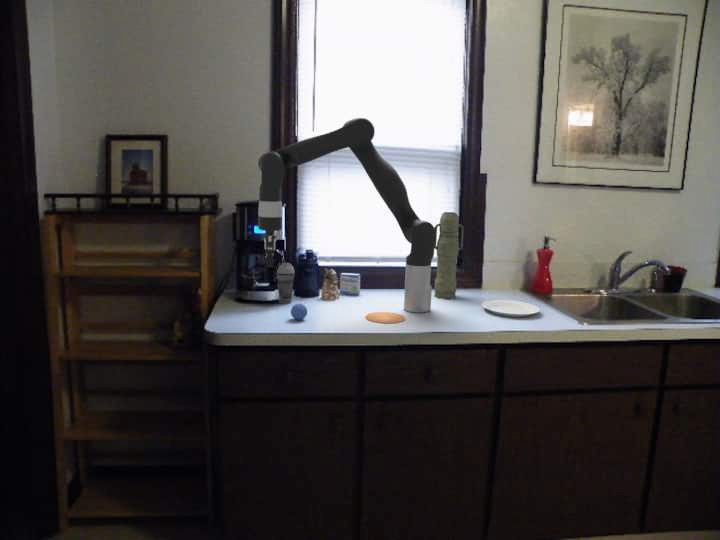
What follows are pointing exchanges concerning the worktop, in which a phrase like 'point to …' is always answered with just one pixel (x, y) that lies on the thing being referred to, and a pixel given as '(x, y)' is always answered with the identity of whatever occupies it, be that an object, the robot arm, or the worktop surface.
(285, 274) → the beverage cup
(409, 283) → the robot arm
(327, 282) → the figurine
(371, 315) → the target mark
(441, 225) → the thermos
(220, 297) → the worktop surface
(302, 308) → the ball
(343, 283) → the medicine box
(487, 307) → the plate
